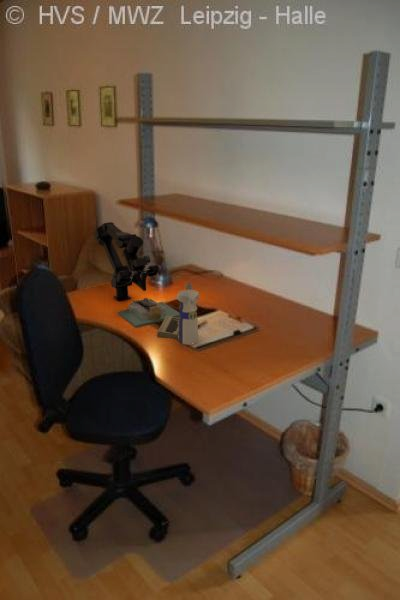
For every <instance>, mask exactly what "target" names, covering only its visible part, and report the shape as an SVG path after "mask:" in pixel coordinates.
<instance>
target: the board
mask: <svg viewBox="0 0 400 600" xmlns="http://www.w3.org/2000/svg"><path fill="white" fill-rule="evenodd" d="M157 303H158V304H160V305H162V306H163V307H165V308H166V316H171V317H177V318H179V317H180V311H177V310H176V309H175V308H172V307H171V306H169V305H167V304H166V303H164V302H163V301H160V302H157ZM117 315H118V316H120V317H121V318H122V319H124V320H125V321H126V322H128V323H129V324H130V325H131V326H132V327H134V328H136V329H137V328H140V327H145V326H149V325H153V324H157V323H160V321H161V322H163V321H164V319H165V317H166V316H162V317H161V319H158V320H154V321H152V320H151V319H150V320H146V321H142V320H141V319H139V318H138V317H136V316H135V315H134V314H132V313H131V312H130V311H129V308H128V309H122V310H119V311H117ZM156 322H157V323H156Z"/></svg>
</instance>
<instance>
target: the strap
mask: <svg viewBox="0 0 400 600" xmlns="http://www.w3.org/2000/svg"><path fill="white" fill-rule="evenodd" d="M137 301H138V303H140V304H142V305H145V306H147V307H152V306H157V305H156V304H154V303H151V302H149V301H146V300H144V298H143V299H140V300H137Z"/></svg>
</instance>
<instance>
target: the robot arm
mask: <svg viewBox="0 0 400 600" xmlns="http://www.w3.org/2000/svg"><path fill="white" fill-rule="evenodd" d="M93 237H94V239H95V240H96V242H97V244H99V245H100V246H102V247H103V250H104V252H105V254H106V256H107V259H108V261H109V262H110V265H111V267H112V270H113V273H112V279H111V281H110V284H111V287H112V288H114V289H115V295H113V298H114V299H116V301H118V302H122V301H126V300H131V299H132V297H131V296H130V295H129V287H130V286H132V285H133V284H134V285H137V287H139V288H140V289H141V291H143V292H146V291H147V277H149V278H151V277H155V276H157V275H158V273H159V271H160V270H161V269H160V266H159V265H158V264H153V265H149V266H148V264H150V263H151V258H150V256H149V255H148V254H147V255H144V256H143V257H139V255H138V254H139V252H140V251H141V249H142V247H143V245H144V241H143V239H142V238H141V237H140V236H137V234H136V233H134V234H131V233H129V232H124V231H122V230H121V229H120V228H119V227H117V226H116V225H115V222H112V221H111V222H104V223H102V224H101V225H100V226H98V227H97V228H95V230H94V232H93ZM113 240H115V245H116V246H117V248H119V249H123V251H122V255H121V257H124V259H125V262H126V265H123V262H122V260H121V258H120V256H119V253H118V252H117V249H116V247H115V245H114V242H113ZM146 266H148V268H146Z"/></svg>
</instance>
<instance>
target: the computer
mask: <svg viewBox="0 0 400 600" xmlns="http://www.w3.org/2000/svg"><path fill="white" fill-rule="evenodd" d="M161 323H162V324H161V325H160V327H159V329H158V330H157V333H156V338H160V339H161V338H165V339H178V338H179V317H171V316H166V317H165V319H164V321H162V322H161Z"/></svg>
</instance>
